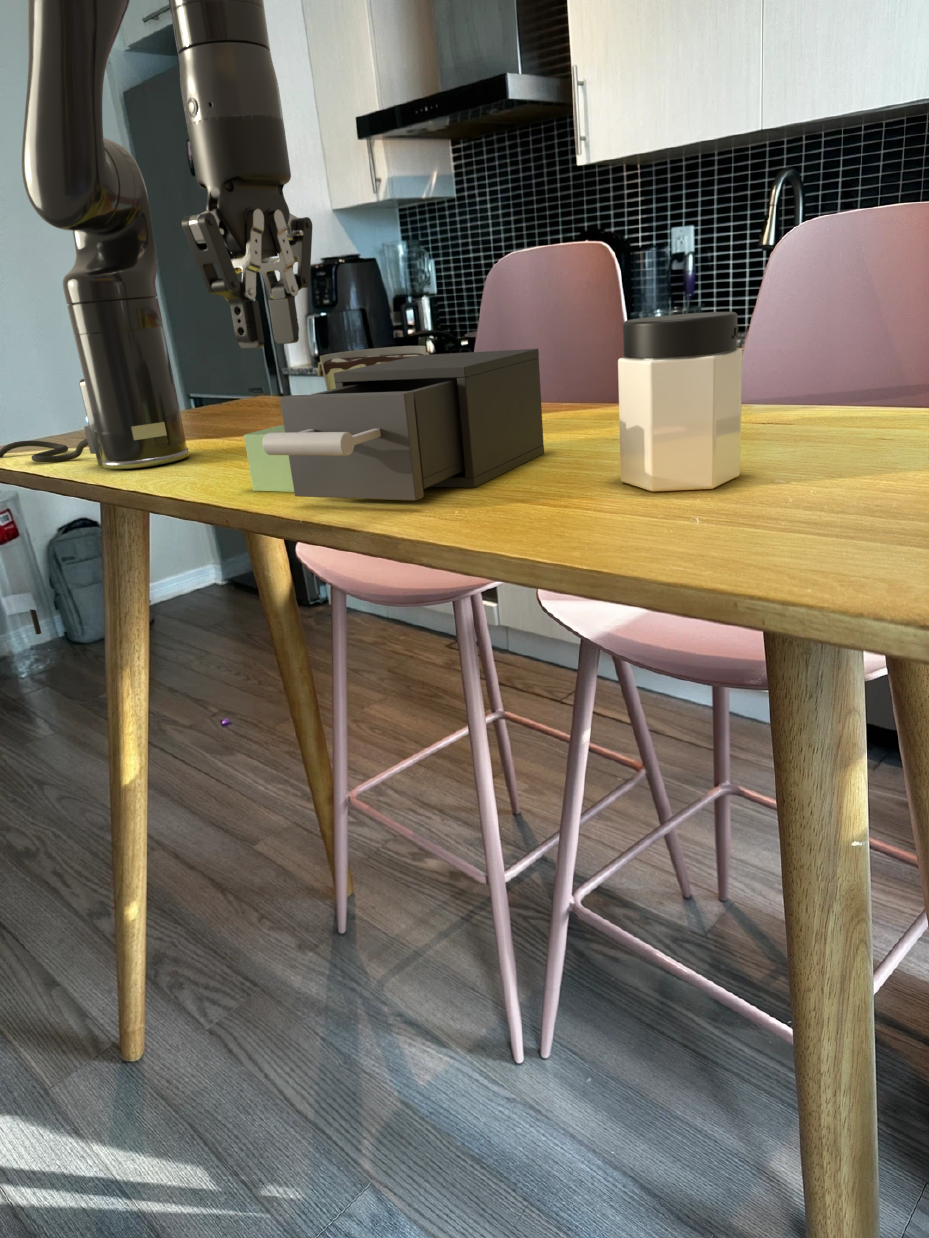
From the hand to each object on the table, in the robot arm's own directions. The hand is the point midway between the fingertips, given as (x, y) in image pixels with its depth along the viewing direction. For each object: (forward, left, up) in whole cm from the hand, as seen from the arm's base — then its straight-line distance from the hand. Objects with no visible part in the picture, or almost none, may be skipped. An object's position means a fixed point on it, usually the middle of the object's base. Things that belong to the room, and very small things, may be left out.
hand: (270, 344), depth 76 cm
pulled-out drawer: (+12, -3, -11) cm, 17 cm away
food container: (-3, +21, -12) cm, 25 cm away
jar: (+34, +5, -12) cm, 37 cm away
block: (0, 0, -12) cm, 12 cm away
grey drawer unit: (+12, +8, -12) cm, 19 cm away
